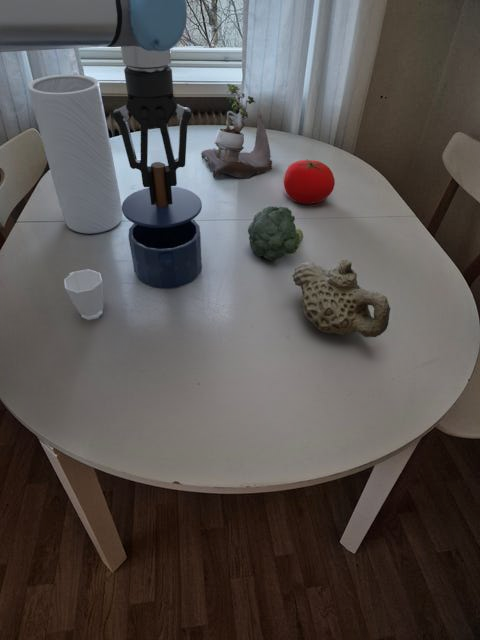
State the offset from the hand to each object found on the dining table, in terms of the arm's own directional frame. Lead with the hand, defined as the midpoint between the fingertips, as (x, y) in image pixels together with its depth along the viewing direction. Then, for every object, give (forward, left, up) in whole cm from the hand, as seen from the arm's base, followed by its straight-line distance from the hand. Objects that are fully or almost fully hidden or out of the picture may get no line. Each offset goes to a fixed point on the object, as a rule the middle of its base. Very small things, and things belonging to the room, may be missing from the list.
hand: (161, 200), depth 84 cm
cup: (-16, -12, -16) cm, 26 cm away
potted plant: (+23, +53, -16) cm, 60 cm away
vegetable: (+25, +4, -16) cm, 30 cm away
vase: (-18, +22, -16) cm, 33 cm away
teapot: (+31, -22, -16) cm, 41 cm away
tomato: (+39, +29, -16) cm, 51 cm away
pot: (0, 0, -16) cm, 16 cm away
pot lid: (0, 0, -1) cm, 1 cm away
